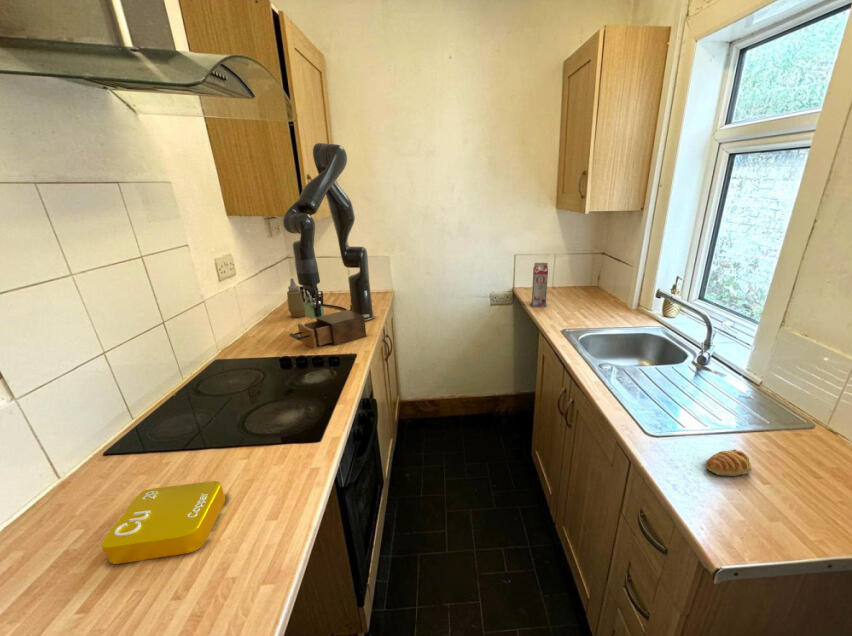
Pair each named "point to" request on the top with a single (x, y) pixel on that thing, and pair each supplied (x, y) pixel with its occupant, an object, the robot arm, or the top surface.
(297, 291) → the squeeze bottle
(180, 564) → the top surface
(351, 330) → the cabinet
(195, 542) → the element tile
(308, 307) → the block
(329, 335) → the drawer
